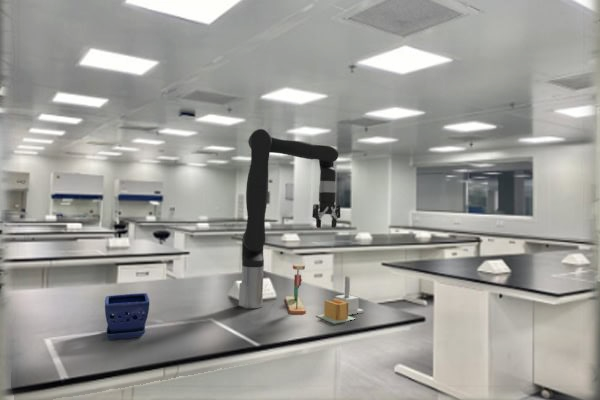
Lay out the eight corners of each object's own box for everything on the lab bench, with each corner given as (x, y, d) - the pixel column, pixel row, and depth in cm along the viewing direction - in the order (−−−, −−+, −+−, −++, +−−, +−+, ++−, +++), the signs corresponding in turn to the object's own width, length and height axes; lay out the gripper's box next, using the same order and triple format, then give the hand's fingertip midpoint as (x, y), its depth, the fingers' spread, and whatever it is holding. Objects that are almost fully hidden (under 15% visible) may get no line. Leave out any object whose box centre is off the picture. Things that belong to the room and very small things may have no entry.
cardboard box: (337, 320, 153) (337, 304, 153) (324, 315, 160) (324, 300, 160) (347, 318, 156) (348, 303, 156) (334, 313, 163) (335, 298, 163)
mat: (334, 323, 150) (334, 322, 150) (316, 316, 159) (316, 315, 159) (355, 319, 157) (355, 318, 157) (337, 312, 166) (337, 311, 166)
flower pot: (102, 343, 122) (103, 304, 123) (104, 330, 135) (105, 294, 135) (148, 338, 128) (150, 301, 128) (146, 326, 140) (147, 292, 140)
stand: (345, 315, 162) (346, 279, 162) (329, 309, 170) (330, 275, 170) (363, 312, 167) (364, 277, 167) (347, 306, 176) (348, 273, 176)
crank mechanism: (306, 314, 162) (307, 266, 162) (289, 314, 161) (291, 266, 161) (299, 299, 187) (300, 258, 187) (285, 299, 186) (286, 257, 186)
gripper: (334, 192, 187) (333, 227, 187) (309, 190, 179) (308, 227, 179) (344, 192, 181) (343, 228, 181) (320, 190, 172) (318, 228, 172)
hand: (326, 227), depth 180 cm, fingers open, 8 cm apart
